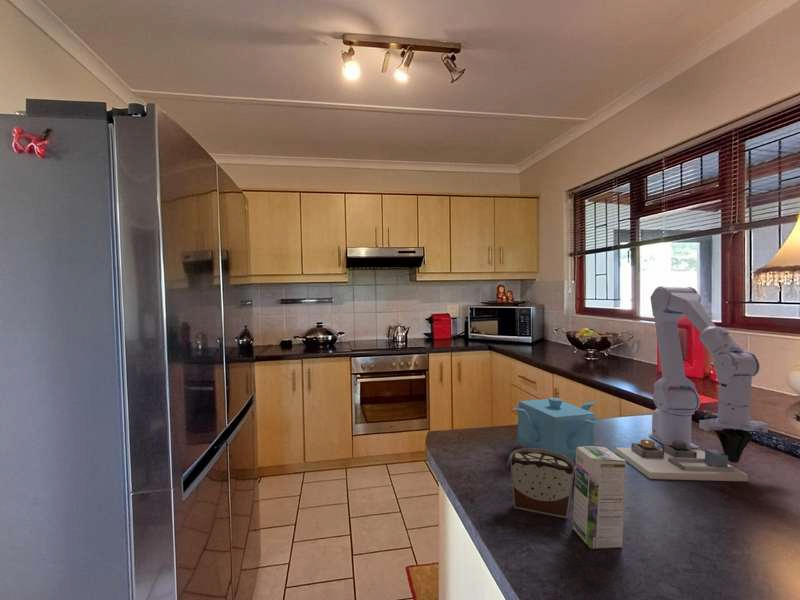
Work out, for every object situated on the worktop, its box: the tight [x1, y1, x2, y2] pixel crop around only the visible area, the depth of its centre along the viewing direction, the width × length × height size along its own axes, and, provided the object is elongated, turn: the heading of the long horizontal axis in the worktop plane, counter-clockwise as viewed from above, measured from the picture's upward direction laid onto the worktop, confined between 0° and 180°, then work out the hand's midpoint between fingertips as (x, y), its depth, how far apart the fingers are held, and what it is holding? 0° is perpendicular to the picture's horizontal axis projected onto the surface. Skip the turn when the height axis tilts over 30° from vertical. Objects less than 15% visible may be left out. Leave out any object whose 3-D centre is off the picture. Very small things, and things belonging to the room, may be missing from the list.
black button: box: [672, 440, 687, 451], centre depth 98 cm, size 3×3×2 cm
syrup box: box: [572, 445, 627, 550], centre depth 65 cm, size 6×6×14 cm
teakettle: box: [512, 397, 599, 464], centre depth 98 cm, size 19×19×15 cm
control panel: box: [614, 442, 749, 482], centre depth 94 cm, size 14×22×3 cm, turn 90°
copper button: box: [640, 439, 656, 450], centre depth 98 cm, size 3×3×2 cm
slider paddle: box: [704, 448, 729, 467], centre depth 91 cm, size 4×2×3 cm, turn 0°
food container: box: [507, 447, 576, 519], centre depth 75 cm, size 12×6×10 cm, turn 71°
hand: (731, 460), depth 91 cm, fingers closed
